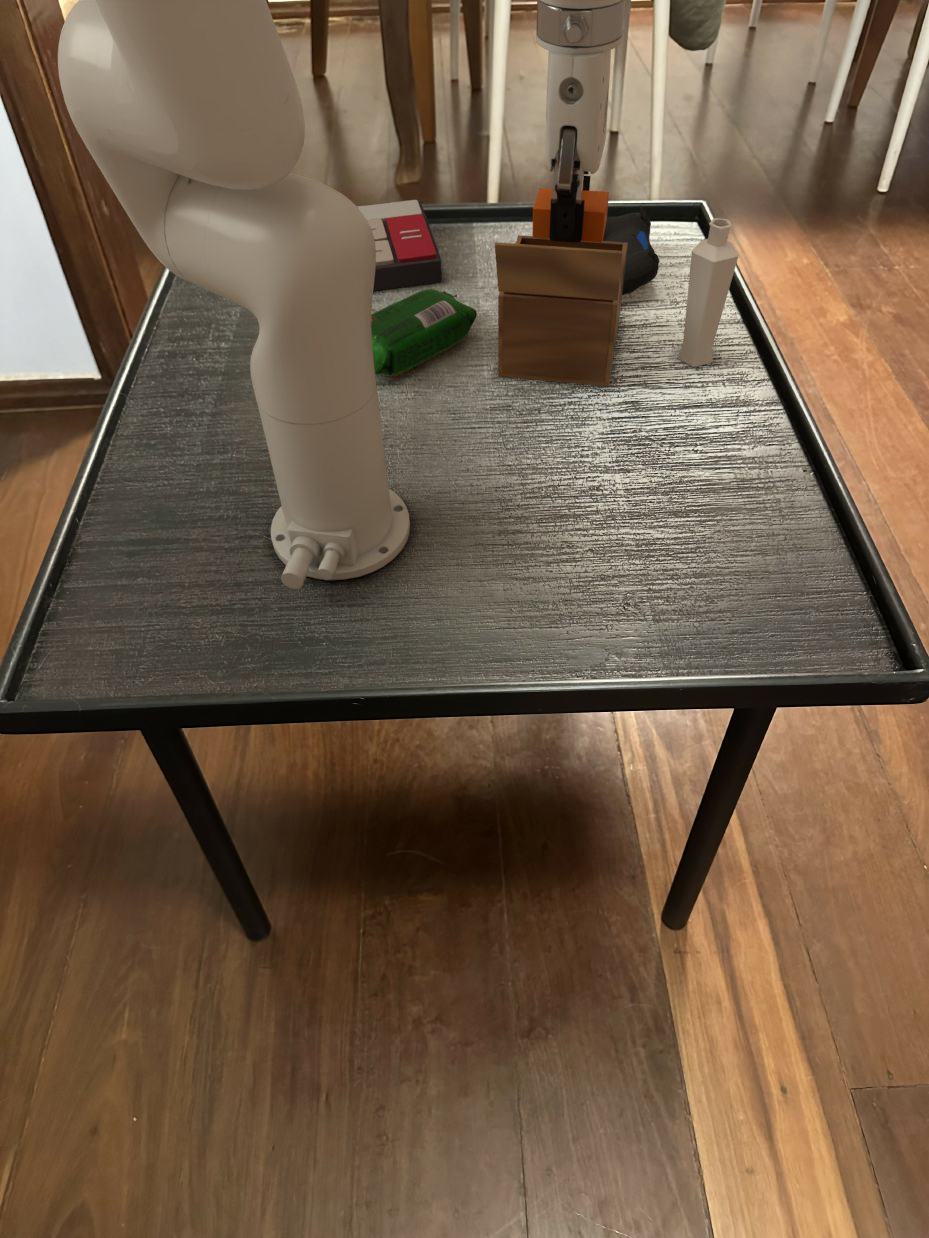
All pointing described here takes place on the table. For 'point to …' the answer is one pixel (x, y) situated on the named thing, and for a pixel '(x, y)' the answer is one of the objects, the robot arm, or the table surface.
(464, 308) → the snack package
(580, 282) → the flap
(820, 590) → the table surface
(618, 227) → the gaming controller
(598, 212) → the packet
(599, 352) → the open wooden box
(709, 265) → the perfume bottle
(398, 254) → the calculator
